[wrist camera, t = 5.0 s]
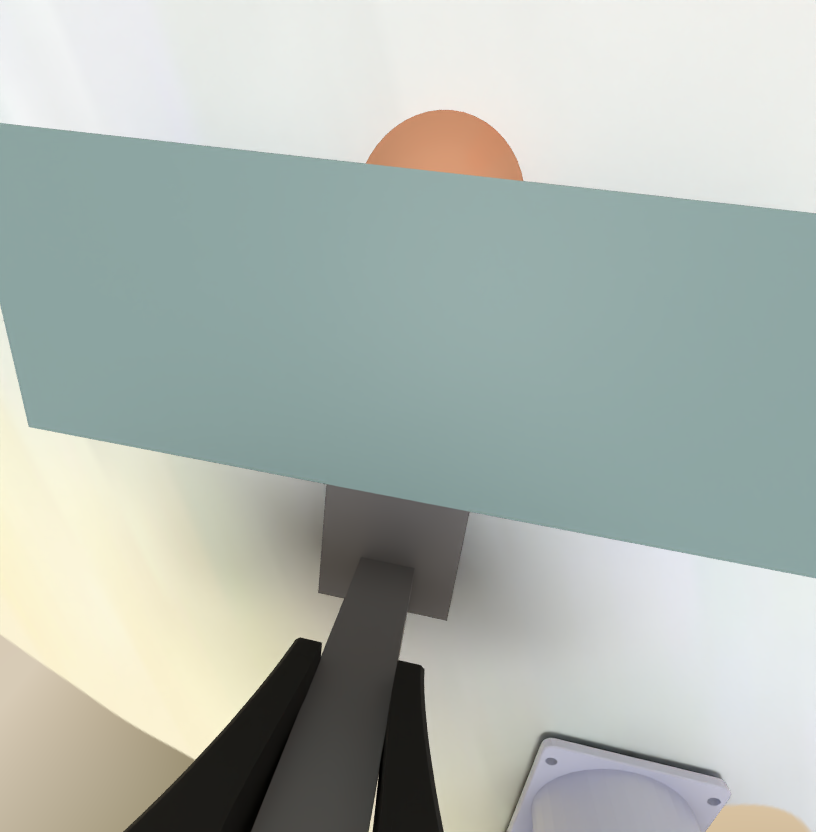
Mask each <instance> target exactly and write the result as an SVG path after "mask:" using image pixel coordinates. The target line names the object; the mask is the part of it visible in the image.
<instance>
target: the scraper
mask: <svg viewBox="0 0 816 832" xmlns="http://www.w3.org/2000/svg"><path fill="white" fill-rule="evenodd" d="M468 516H469V511H464V510H459V509H453V508H448V507H443V506H438V505H433V504H427V503H422V502H417V501H412V500H407V499H401V498H396V497H391V496H386V495H381V494H375V493H370V492H365V491H360V490H355V489H349V488H344V487H339V486H334V485H329V484H327V485H326V498H325V511H324V524H323V537H322V551H321V564H320V577H319V590H318V593H322V594H326V595H331V596H336V597H340V598H344V601H343V603H342V606H341V608H340V611H339V613H338V616H337V618H336V621H335V623H334V626H333V628H332V631H331V633H330V636H329V638H328V641H327V643H326V646H325V648H324V651H323V653H322V656H321V660H320V663H319V665H318V668H317V670H316V673H315V675H314V678H313V680H312V683H311V685H310V688H309V690H308V693H307V695H306V698H305V700H304V702H303V704H302V706H301V708H300V710H299V713H298V715H297V718H296V720H295V723H294V725H293V728H292V730H291V733H290V735H289V738H288V740H287V743H286V745H285V748H284V750H283V753H282V755H281V758H280V760H279V763H278V765H277V768H276V770H275V773H274V775H273V778H272V780H271V783H270V785H269V788H268V790H267V793H266V795H265V798H264V800H263V803H262V805H261V808H260V810H259V813H258V815H257V818H256V820H255V823H254V825H253V828H252V830H251V832H369V826H370V820H371V815H372V809H373V803H374V798H375V792H376V787H377V781H378V775H379V769H380V763H381V757H382V751H383V744H384V738H385V732H386V726H387V717H388V711H389V705H390V699H391V693H392V687H393V682H394V676H395V671H396V666H397V660H399V657H400V651H401V645H402V640H403V634H404V628H405V623H406V617H407V612H409V613H414V614H419V615H423V616H428V617H432V618H437V619H442V620H446V621H447V617H448V612H449V608H450V603H451V598H452V593H453V588H454V583H455V579H456V574H457V569H458V564H459V559H460V554H461V550H462V545H463V540H464V535H465V530H466V525H467V521H468Z"/></svg>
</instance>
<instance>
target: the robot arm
mask: <svg viewBox="0 0 816 832" xmlns="http://www.w3.org/2000/svg"><path fill="white" fill-rule="evenodd" d="M321 647H322V643H321V642H317V641H313V640H308V639H304V638H298V639H296V640H295V641H294V643H293V644H292V645H291V647H290V648H289V650H288V651H287V652H286V654H285V655H284V656H283V658H282V659H281V661H280V662H279V663H278V665H277V666H276V667H275V668H274V670H273V671H272V672H271V674H270V675H269V676H268V677H267V679H266V680H265V681H264V682H263V684H262V685H261V686H260V687H259V689H258V690H257V691H256V692H255V693H254V695H253V696H252V697H251V698H250V699H249V700H248V702H247V703H246V704H245V705H244V706H243V708H242V709H241V710H240V711H239V712H238V713H237V715H236V716H235V717H234V718H233V719H232V720H231V722H230V723H229V724H228V725H227V726H226V727H225V728H224V730H223V731H222V732H221V733H220V734H219V735H218V736H217V737H216V738H215V739H214V740H213V741H212V743H211V744H210V745H209V746H208V747H207V748H206V749H205V750H204V751H203V752H202V753H201V755H200V756H199V757H198V758H197V759H196V760H195V761H194V762H193V763H192V764H191V765H190V766H189V767H188V769H187V770H186V771H185V772H184V773H183V774H182V775H181V776H180V777H179V778H178V779H177V780H176V781H175V782H174V783H173V784H172V785H171V786H170V787H169V788H168V789H167V790H166V791H165V792H164V793H163V794H162V795H161V796H160V797H159V798H158V799H157V800H156V801H155V802H154V803H153V804H152V805H151V806H150V807H149V808H148V809H147V810H146V811H145V812H144V813H143V814H142V815H141V816H139V817H138V818H137V819H136V820H135V821H134V822H133V823H132V824H131V825H130V826H129V827H128V828H127V829H126V830H125V831H124V832H251V830H252V828H253V825H254V823H255V820H256V818H257V815H258V813H259V810H260V808H261V805H262V803H263V800H264V798H265V795H266V793H267V790H268V788H269V785H270V783H271V780H272V778H273V775H274V773H275V770H276V768H277V765H278V763H279V760H280V758H281V755H282V753H283V750H284V748H285V745H286V743H287V740H288V738H289V735H290V733H291V730H292V728H293V725H294V723H295V720H296V718H297V715H298V713H299V710H300V708H301V706H302V704H303V702H304V700H305V698H306V695H307V693H308V690H309V688H310V685H311V683H312V680H313V678H314V675H315V673H316V670H317V668H318V665H319V663H320V660H321ZM730 796H731V792H730V790H729V788H728V786H727V784H726V782H724V781H723V780H722V779H720V778H717V777H713V776H709V775H705V774H700V773H696V772H692V771H688V770H684V769H680V768H676V767H672V766H667V765H663V764H659V763H655V762H651V761H647V760H643V759H638V758H634V757H630V756H626V755H622V754H618V753H614V752H610V751H605V750H601V749H597V748H593V747H589V746H585V745H581V744H577V743H572V742H568V741H564V740H560V739H556V738H547V739H545V740H543V742H542V743H541V745H540V748H539V750H538V753H537V755H536V758H535V761H534V763H533V766H532V768H531V771H530V773H529V776H528V778H527V781H526V783H525V786H524V789H523V791H522V794H521V796H520V799H519V801H518V804H517V806H516V809H515V811H514V814H513V817H512V819H511V822H510V824H509V827H508V829H507V832H705V831H706V830H707V829H708V827H709V826H710V824H711V823H712V822H713V820H714V819H715V818H716V816H717V815H718V813H719V812H720V811H721V809H722V808H723V806H724V805H725V804H726V802H727V801H728V800H729V798H730ZM373 832H444V831H443V826H442V821H441V816H440V811H439V805H438V799H437V794H436V788H435V782H434V775H433V768H432V762H431V755H430V748H429V740H428V732H427V722H426V711H425V696H424V668H423V667H422V666H421V665H417V664H413V663H409V662H404V661H400V660H397V666H396V671H395V676H394V682H393V687H392V693H391V699H390V705H389V711H388V717H387V726H386V732H385V738H384V744H383V751H382V757H381V763H380V769H379V778H378V787H377V796H376V806H375V815H374V824H373Z"/></svg>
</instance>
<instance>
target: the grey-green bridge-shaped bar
mask: <svg viewBox="0 0 816 832" xmlns="http://www.w3.org/2000/svg"><path fill="white" fill-rule="evenodd" d="M0 305H1V310H2V314H3V318H4V322H5V327H6V331H7V335H8V339H9V344H10V348H11V352H12V357H13V361H14V365H15V369H16V374H17V378H18V382H19V386H20V391H21V395H22V399H23V404H24V408H25V412H26V416H27V421H28V425H29V427H32V428H37V429H43V430H48V431H53V432H58V433H63V434H69V435H74V436H79V437H84V438H89V439H95V440H100V441H105V442H110V443H115V444H121V445H126V446H131V447H136V448H141V449H147V450H152V451H157V452H162V453H167V454H173V455H178V456H183V457H188V458H193V459H199V460H204V461H209V462H214V463H219V464H225V465H230V466H235V467H240V468H245V469H251V470H256V471H261V472H266V473H271V474H277V475H282V476H287V477H292V478H297V479H303V480H308V481H313V482H318V483H323V484H329V485H334V486H339V487H344V488H349V489H355V490H360V491H365V492H370V493H375V494H381V495H386V496H391V497H396V498H401V499H407V500H412V501H417V502H422V503H427V504H433V505H438V506H443V507H448V508H453V509H459V510H464V511H469V512H474V513H479V514H485V515H490V516H495V517H500V518H505V519H511V520H516V521H521V522H526V523H531V524H537V525H542V526H547V527H552V528H557V529H563V530H568V531H573V532H578V533H583V534H589V535H594V536H599V537H604V538H609V539H615V540H620V541H625V542H630V543H635V544H641V545H646V546H651V547H656V548H661V549H667V550H672V551H677V552H682V553H687V554H692V555H698V556H703V557H708V558H713V559H718V560H724V561H729V562H734V563H739V564H744V565H750V566H755V567H760V568H765V569H770V570H776V571H781V572H786V573H791V574H796V575H802V576H807V577H812V578H816V213H807V212H798V211H789V210H780V209H771V208H762V207H753V206H744V205H735V204H726V203H717V202H708V201H699V200H690V199H681V198H672V197H663V196H653V195H644V194H635V193H626V192H617V191H608V190H599V189H590V188H581V187H572V186H563V185H554V184H545V183H536V182H527V181H518V180H509V179H500V178H491V177H482V176H473V175H464V174H455V173H446V172H437V171H428V170H419V169H410V168H401V167H392V166H383V165H373V164H364V163H355V162H346V161H337V160H328V159H319V158H310V157H301V156H292V155H283V154H274V153H265V152H256V151H247V150H238V149H229V148H220V147H211V146H202V145H193V144H184V143H175V142H166V141H157V140H148V139H139V138H130V137H121V136H112V135H102V134H93V133H84V132H75V131H66V130H57V129H48V128H39V127H30V126H21V125H12V124H3V123H0Z"/></svg>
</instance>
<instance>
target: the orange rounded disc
mask: <svg viewBox="0 0 816 832" xmlns="http://www.w3.org/2000/svg"><path fill="white" fill-rule="evenodd" d="M366 164H373V165H383V166H392V167H401V168H410V169H419V170H428V171H437V172H446V173H455V174H464V175H473V176H482V177H491V178H500V179H509V180H518V181H523V178H522V173H521V170H520V167H519V164H518V161H517V159H516V157H515V155H514V153H513V151H512V149H511V148H510V146H509V145H508V144H507V142H506V141H505V139H504V138H503V137H502V136H501V135H500V134H499V133H498V132H497V131H496V130H495V129H494V128H493V127H491V126H490V125H489V124H487V123H486V122H484V121H483V120H481V119H479V118H477V117H475V116H473V115H470V114H467V113H464V112H459V111H454V110H436V111H429V112H425V113H422V114H419V115H416V116H414V117H411V118H409V119H407V120H405V121H404V122H402V123H401V124H399V125H398V126H396V127H395V128H394V129H392V130H391V131H390V132H389V133H388V134H387V135H386V136H385V137H384V138H383V139H382V140H381V141H380V142H379V143H378V145H377V146H376V147H375V149H374V150H373V152H372V153H371V155H370V157H369V159H368V160H367V162H366Z"/></svg>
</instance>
